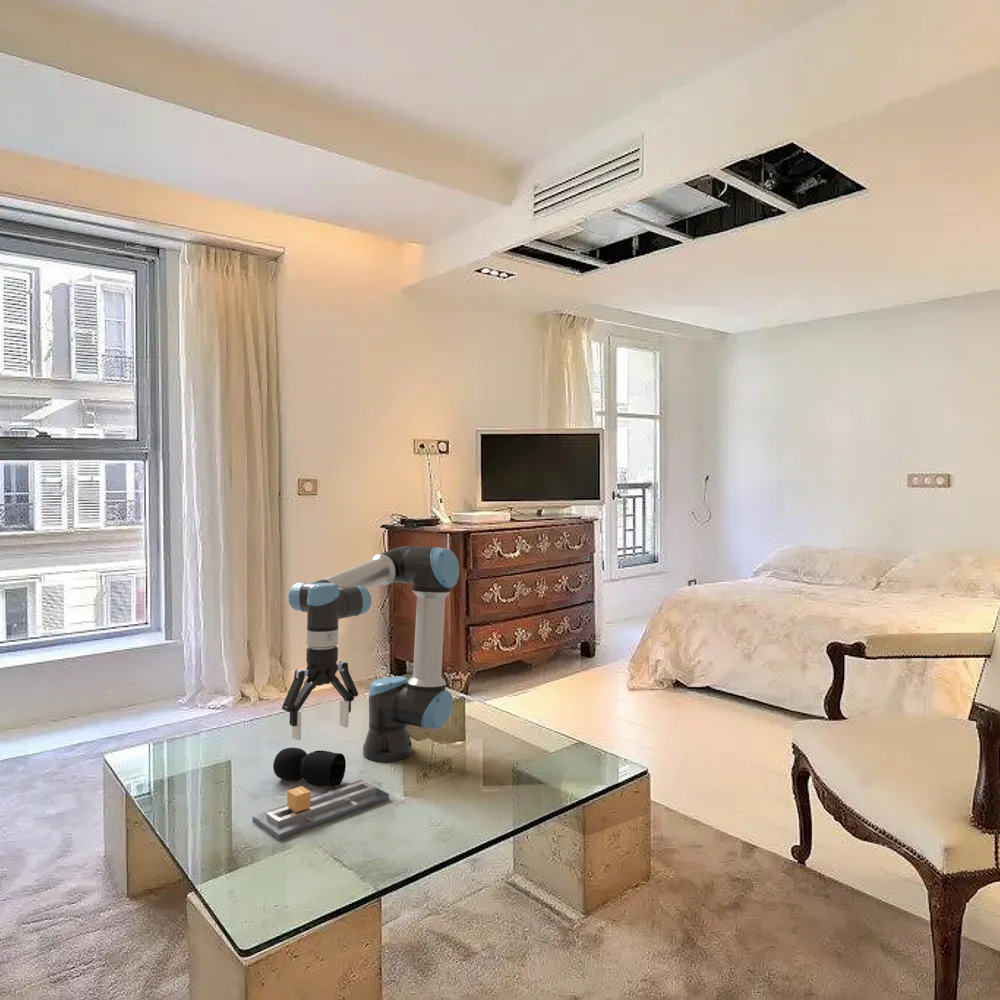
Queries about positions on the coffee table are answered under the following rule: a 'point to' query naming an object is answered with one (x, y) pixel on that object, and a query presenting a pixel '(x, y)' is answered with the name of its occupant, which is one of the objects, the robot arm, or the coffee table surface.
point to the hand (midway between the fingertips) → (320, 732)
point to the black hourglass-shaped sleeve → (310, 767)
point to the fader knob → (298, 799)
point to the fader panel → (320, 809)
